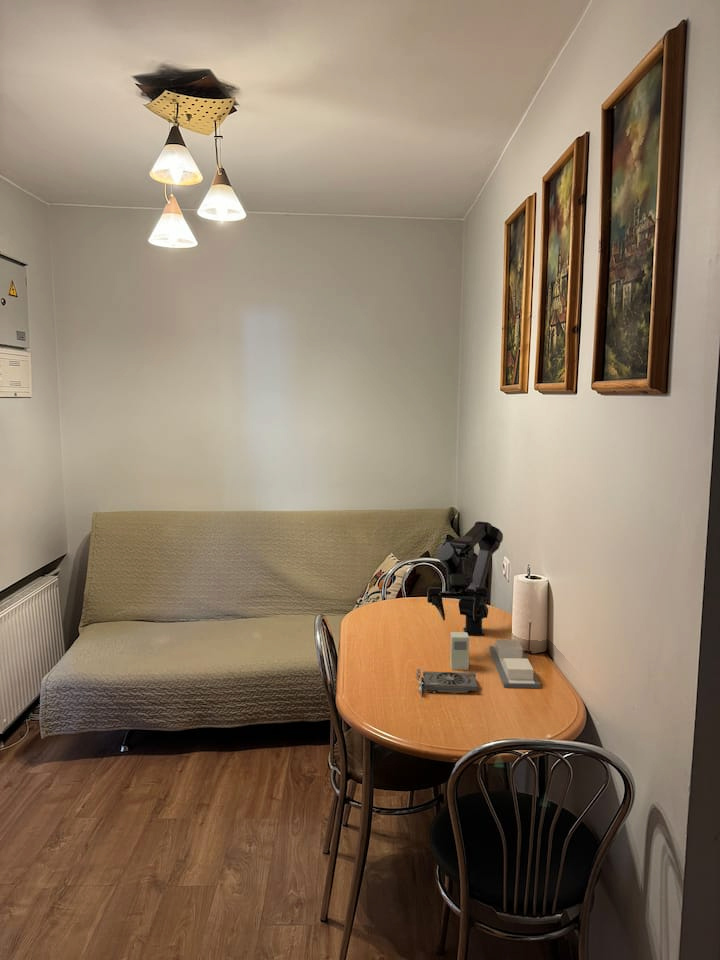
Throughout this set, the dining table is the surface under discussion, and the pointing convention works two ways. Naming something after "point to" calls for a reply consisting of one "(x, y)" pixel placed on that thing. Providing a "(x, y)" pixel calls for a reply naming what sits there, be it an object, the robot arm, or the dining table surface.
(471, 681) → the graphics card
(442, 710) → the dining table surface
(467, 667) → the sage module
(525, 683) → the board
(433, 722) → the dining table surface
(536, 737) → the dining table surface
